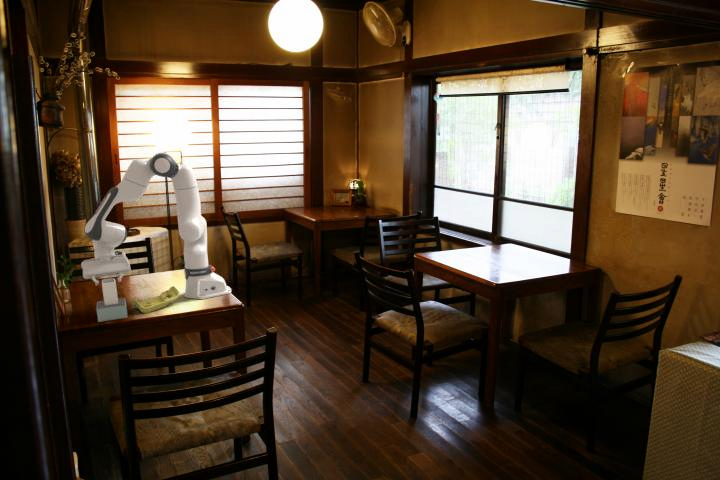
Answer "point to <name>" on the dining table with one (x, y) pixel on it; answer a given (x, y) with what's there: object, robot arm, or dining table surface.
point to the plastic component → (157, 301)
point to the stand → (111, 310)
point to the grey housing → (109, 291)
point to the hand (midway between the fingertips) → (108, 283)
